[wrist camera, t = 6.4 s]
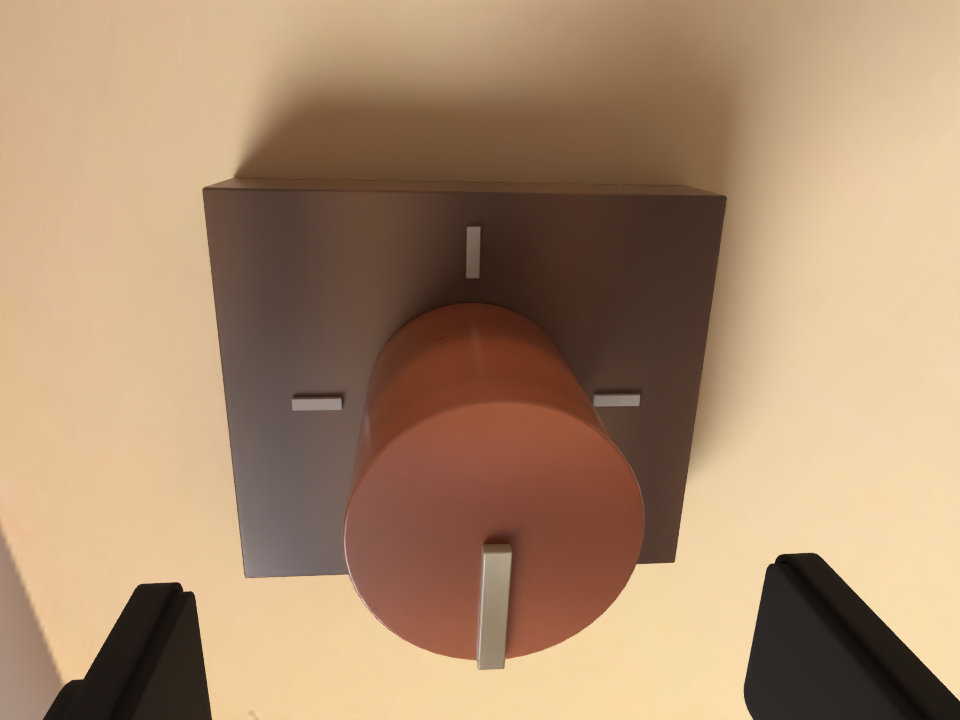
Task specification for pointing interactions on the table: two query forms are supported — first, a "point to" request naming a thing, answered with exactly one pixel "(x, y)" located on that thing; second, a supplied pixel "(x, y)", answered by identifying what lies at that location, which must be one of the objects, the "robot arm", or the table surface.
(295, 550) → the dial base plate
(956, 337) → the table surface
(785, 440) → the table surface
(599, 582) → the rotary dial knob
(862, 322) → the table surface
